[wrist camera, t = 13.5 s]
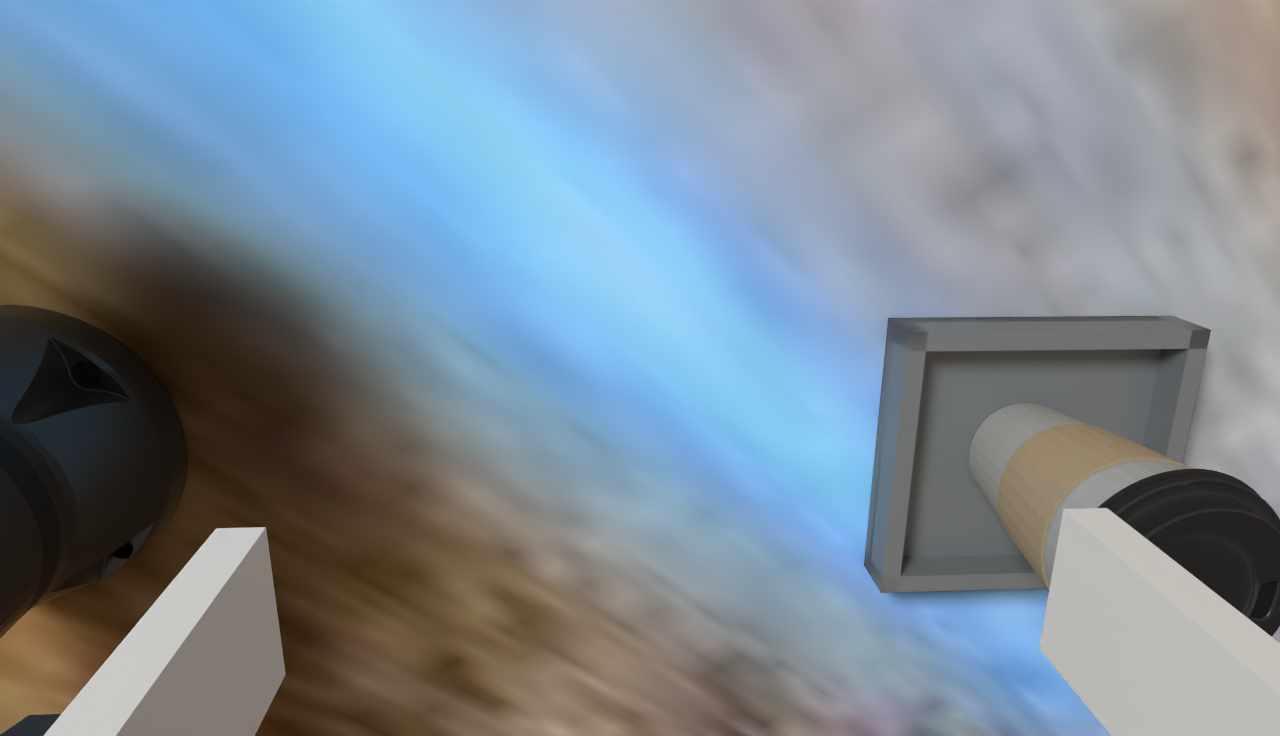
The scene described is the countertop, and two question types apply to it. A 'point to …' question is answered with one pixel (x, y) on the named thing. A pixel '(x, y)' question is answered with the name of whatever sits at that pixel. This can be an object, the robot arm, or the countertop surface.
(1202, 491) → the coffee cup
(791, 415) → the countertop surface
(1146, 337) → the tray
